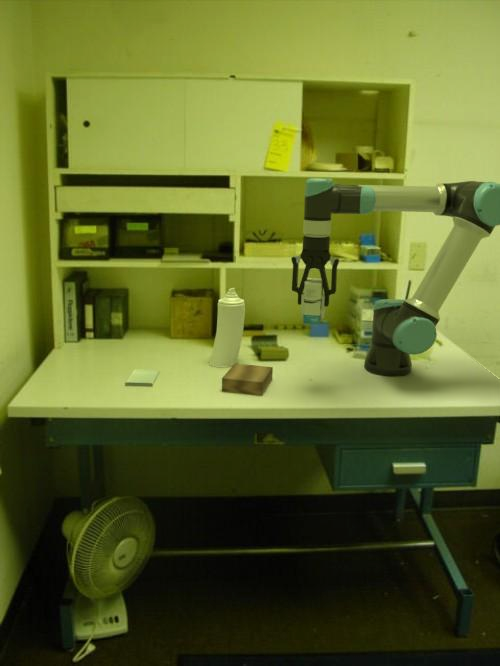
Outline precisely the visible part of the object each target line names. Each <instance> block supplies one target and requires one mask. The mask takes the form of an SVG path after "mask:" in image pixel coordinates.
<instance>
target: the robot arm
mask: <svg viewBox="0 0 500 666" xmlns="http://www.w3.org/2000/svg"><path fill="white" fill-rule="evenodd" d="M303 197H304V204H303V205H304V206H303V207H304V212H303V224H302V225H303V227H302V228H303V230H302V232H303V234H304V235H303V237H302V251H301V253H300V254H299V255H293V256H292V257H291V258H290V259H291V262H292V263H291V264H292V277H291V279H292V280H291V281H292V282H291V291H292V292H296V293H297V304H298V305H300V317H301V318H303V311H304V288H305V281H306V280H307V278H309V273H310V271H311V269H316V270H318V271H319V274H320V279H321V280H322V284H323V295H322V303H321V319H324V318H325V315H326V312H325V311H326V307H329V304H330V296H331V295H334V294H336V293H337V280H338V279H337V278H338V265H339V263H340V259H339V258H338V257H334V256H331V255H332V254H331V253H330V248H331V247H330V246H331V243H330V242H331V241H330V240H331V237H330V236H329V235H331V227H332V225H331V224H332V215H337V214H338V215H339V214H340V215H342V214H343V215H344V214H345V215H360V216H362V215H370V214H371V213H373V212H407V213H408V212H415V213H433V214H434V215H435V216H442V217H443V216H444V217H451V218H452V220H453V221H452V222H453V227H452V229H451V230H450V232H449V234H447V237H446V238H445V240H444V242H443V243H442V246H441V248H440V249H439V251H438V253H437V254H436V256H435V258H434V259H433V262H431V265H430V266H429V268H428V270H427V271H426V273H425V275H424V277H423V278H422V280H421V281H420V284H419V285H418V286H417V289H416V291H415V292H414V294H413V296H412V297H411V298H410V297H409V298H407V299H396V298H395V299H394V298H393V299H390V298H389V299H388V298H386V299H378V300H376V301H375V302H374V306H373V310H372V313H373V316H372V317H373V318H372V327H371V328H372V329H371V343H370V346H369V349H368V352H367V354H366V356H365V358H364V363H363V364H364V365H363V367H364V369H365V370H366V371H368V372H370V373H372V374H375V375H378V376H383V377H384V376H386V377H402V376H406V375H409V374H411V372H412V369H413V363H412V359H411V355H413V356H414V355H420V354H423V353H425V352H427V351H428V350H430V349H431V348H432V347H433V345H434V344H435V342H436V340H437V336H438V333H437V325H438V324H439V321H440V320H441V318H440V313H439V311H440V310H441V308H442V306H443V305H444V303H445V301H446V300H447V298H448V296H449V294H450V292H451V291H452V289H453V288H454V286H455V284H456V282H457V281H458V279H459V278H460V275H461V274H462V273H463V271H464V269H465V267H466V266H467V265H468V263H469V261H470V259H471V258H472V255H473V254H474V252H475V250H476V249H477V247H478V245H479V243H480V242H481V240H483V239H486V238H488V237H490V235H492V232H493V231H494V229H495V228H496V227H498V226H500V183H497V182H495V181H494V182H493V181H475V180H467V181H461V182H450V183H449V182H448V183H447V182H446V183H442V182H441V183H436V185H435V186H426V185H425V186H423V185H422V186H421V185H419V186H417V185H381V184H380V185H377V184H376V185H375V184H342V183H334V180H333V179H332V178H319V177H315V178H314V177H313V178H308V179H307V180H306V182H305V188H304V194H303ZM301 260H302V262H303V264H304V265H305V267H304V271H303V274H302V277H301V281H300V283H299V285H298V281H299V267H300V262H301ZM328 262H330V265H331V280H330V282H331V283H330V285H331V286H329V281H328V278H327V273H326V265H327V264H328ZM298 286H299V287H298ZM329 287H330V288H329ZM298 305H297V306H298Z"/></svg>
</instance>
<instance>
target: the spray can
mask: <svg viewBox="0 0 500 666" xmlns="http://www.w3.org/2000/svg"><path fill="white" fill-rule="evenodd" d="M217 301H218V302H217V317H216V319H217V320H216V321H217V322H216V332H215V337H214V341H213V347H212V351H211V356H210V358H209V359H210V360H209V365H210V366H212V367H216V368H231V367H232V366H233V365H234V364H235V363H236V364H237V361H238V357H239V354H240V349H241V344H242V339H243V335H244V326H245V317H246V316H245V315H246V305H245V299H244V298H243V299H242V298H240V296H239V295H238V294H237V292H236V287H232V288H231V287H230V288H229V289H228V290H227V292H226V294H225V295H224V297H223V298H220V299H218V300H217Z"/></svg>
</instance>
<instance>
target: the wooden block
mask: <svg viewBox="0 0 500 666" xmlns="http://www.w3.org/2000/svg"><path fill="white" fill-rule="evenodd" d="M273 369H274V368H273V366H265V365H264V366H263V365H253V364H245V363H237V362H236V363H235V364H234V365H233V366H230V367H229V369H228V370H227V372H226V373H225V374H224V375H223V376H222V378H221V392H227V393H228V392H229V393H236V394H245V395H253V394H254V396H263V395H264V394H265V392H266V390H267V388H268V387H269V385H270V384H271V383H272V381H273V372H274V371H273Z"/></svg>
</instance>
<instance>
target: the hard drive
mask: <svg viewBox="0 0 500 666" xmlns="http://www.w3.org/2000/svg"><path fill="white" fill-rule="evenodd" d="M160 373H161V371H160V370H159V369H149V368H148V369H145V368H142V369H141V368H140V369H139V368H134V369H133V370H132V372H131V373H130V375H129V377H128V378H127V379H126V381H125V383H124V386H125V387H149V388H150V387H151V388H152V387H154V385H155V383H156V381H157V379H158V377H159V375H160Z"/></svg>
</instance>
